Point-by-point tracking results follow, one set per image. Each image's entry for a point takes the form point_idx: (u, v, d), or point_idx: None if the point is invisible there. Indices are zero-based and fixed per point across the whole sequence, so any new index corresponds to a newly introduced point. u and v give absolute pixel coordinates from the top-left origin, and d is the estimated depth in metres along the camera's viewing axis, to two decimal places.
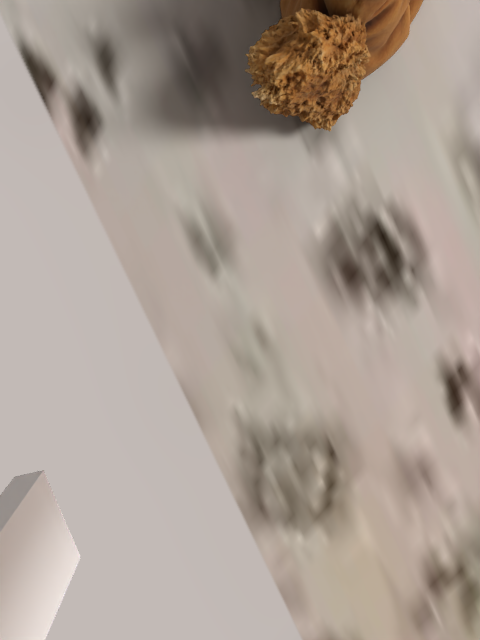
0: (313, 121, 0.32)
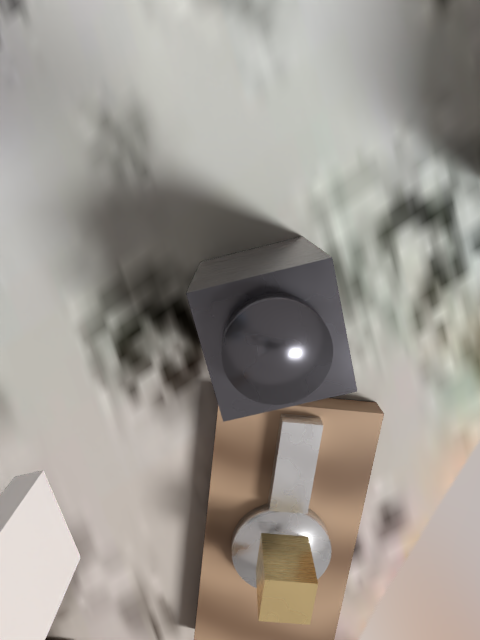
0: None
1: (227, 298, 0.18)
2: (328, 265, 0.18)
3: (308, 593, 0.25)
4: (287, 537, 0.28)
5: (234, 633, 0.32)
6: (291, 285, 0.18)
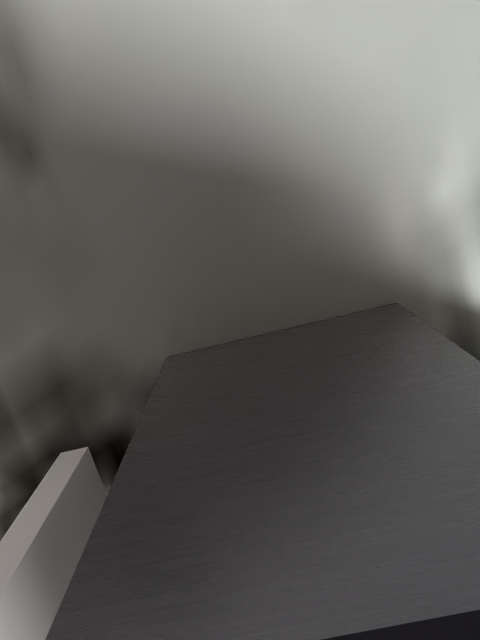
0: None
1: None
2: None
3: None
4: None
5: None
6: None
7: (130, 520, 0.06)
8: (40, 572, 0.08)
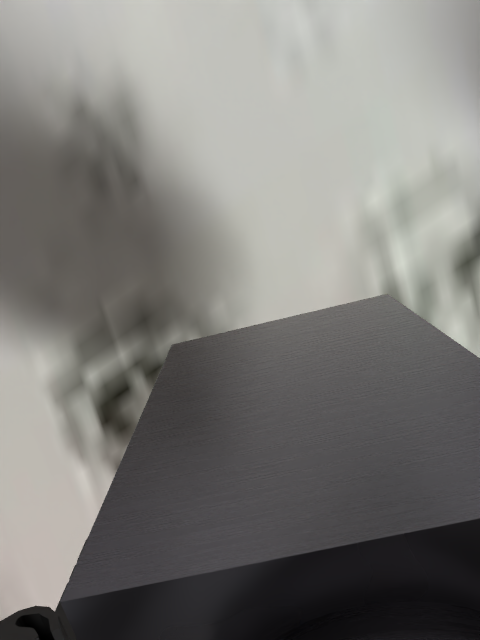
0: None
1: (221, 618, 0.05)
2: None
3: None
4: None
5: None
6: (475, 579, 0.05)
7: (144, 475, 0.06)
8: None
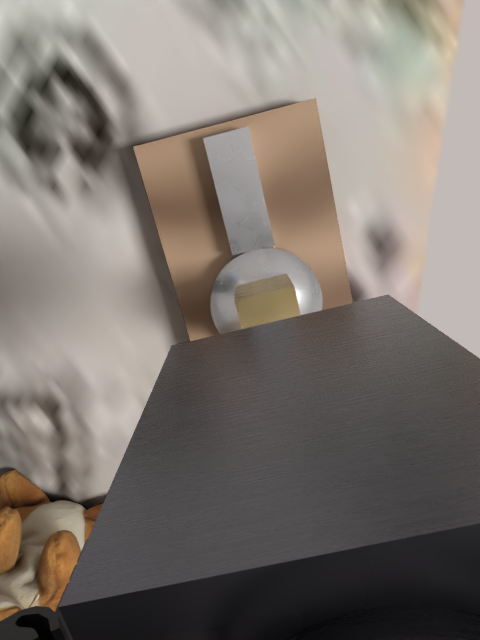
0: None
1: (221, 623, 0.05)
2: None
3: (288, 302, 0.22)
4: (263, 279, 0.25)
5: None
6: (477, 584, 0.04)
7: (144, 478, 0.06)
8: None
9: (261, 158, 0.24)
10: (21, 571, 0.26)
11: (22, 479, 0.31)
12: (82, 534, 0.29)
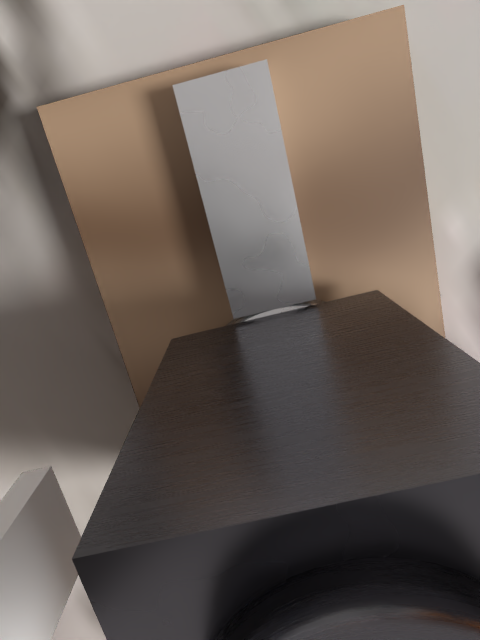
0: None
1: (215, 573, 0.05)
2: None
3: None
4: None
5: None
6: (440, 536, 0.05)
7: (146, 454, 0.07)
8: None
9: (290, 130, 0.12)
10: None
11: None
12: None
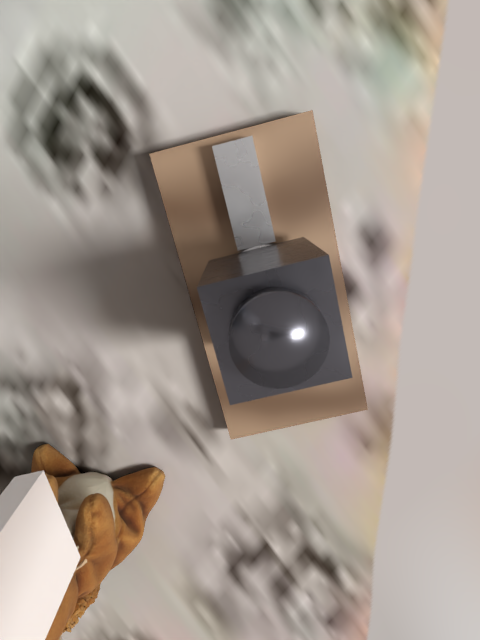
0: None
1: (234, 292, 0.20)
2: (325, 262, 0.20)
3: None
4: None
5: (262, 409, 0.32)
6: (292, 280, 0.20)
7: (210, 276, 0.22)
8: None
9: (263, 164, 0.27)
10: None
11: (55, 452, 0.33)
12: (111, 501, 0.32)
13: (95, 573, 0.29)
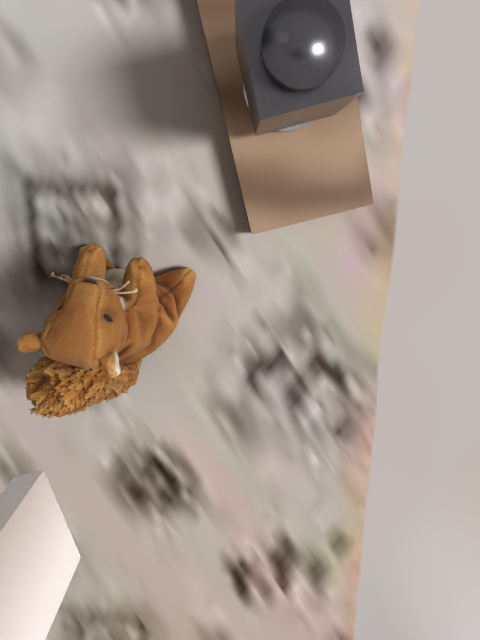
0: None
1: (265, 7, 0.24)
2: None
3: None
4: None
5: (280, 203, 0.36)
6: None
7: None
8: None
9: None
10: None
11: None
12: None
13: (140, 328, 0.33)
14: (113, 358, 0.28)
